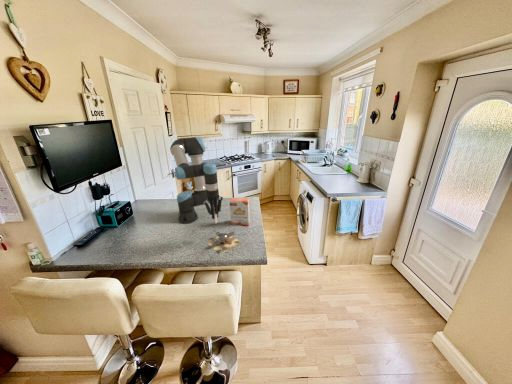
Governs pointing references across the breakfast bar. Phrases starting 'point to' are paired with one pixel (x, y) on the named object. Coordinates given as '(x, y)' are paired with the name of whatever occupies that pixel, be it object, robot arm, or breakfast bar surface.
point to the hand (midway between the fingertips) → (215, 222)
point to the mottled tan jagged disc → (224, 247)
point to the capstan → (223, 238)
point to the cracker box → (239, 211)
